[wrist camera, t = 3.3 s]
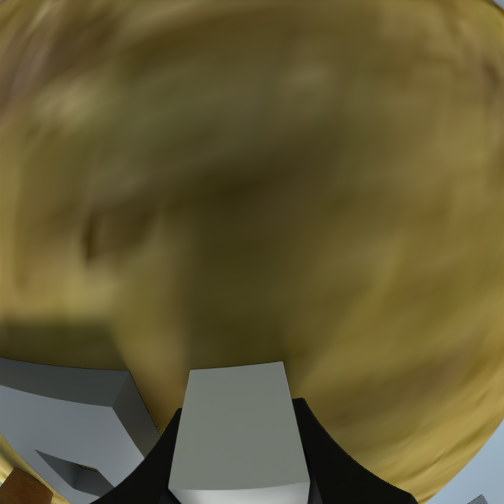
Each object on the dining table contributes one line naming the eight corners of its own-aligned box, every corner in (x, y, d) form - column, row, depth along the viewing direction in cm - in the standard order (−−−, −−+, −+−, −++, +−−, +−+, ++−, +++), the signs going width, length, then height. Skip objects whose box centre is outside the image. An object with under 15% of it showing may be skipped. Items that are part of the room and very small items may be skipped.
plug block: (286, 418, 12) (305, 518, 7) (208, 425, 12) (201, 524, 7) (282, 361, 11) (310, 481, 6) (190, 369, 11) (168, 488, 6)
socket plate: (209, 510, 16) (209, 532, 14) (80, 489, 16) (74, 505, 14) (129, 370, 11) (112, 407, 9) (-24, 352, 11) (-42, 369, 9)
